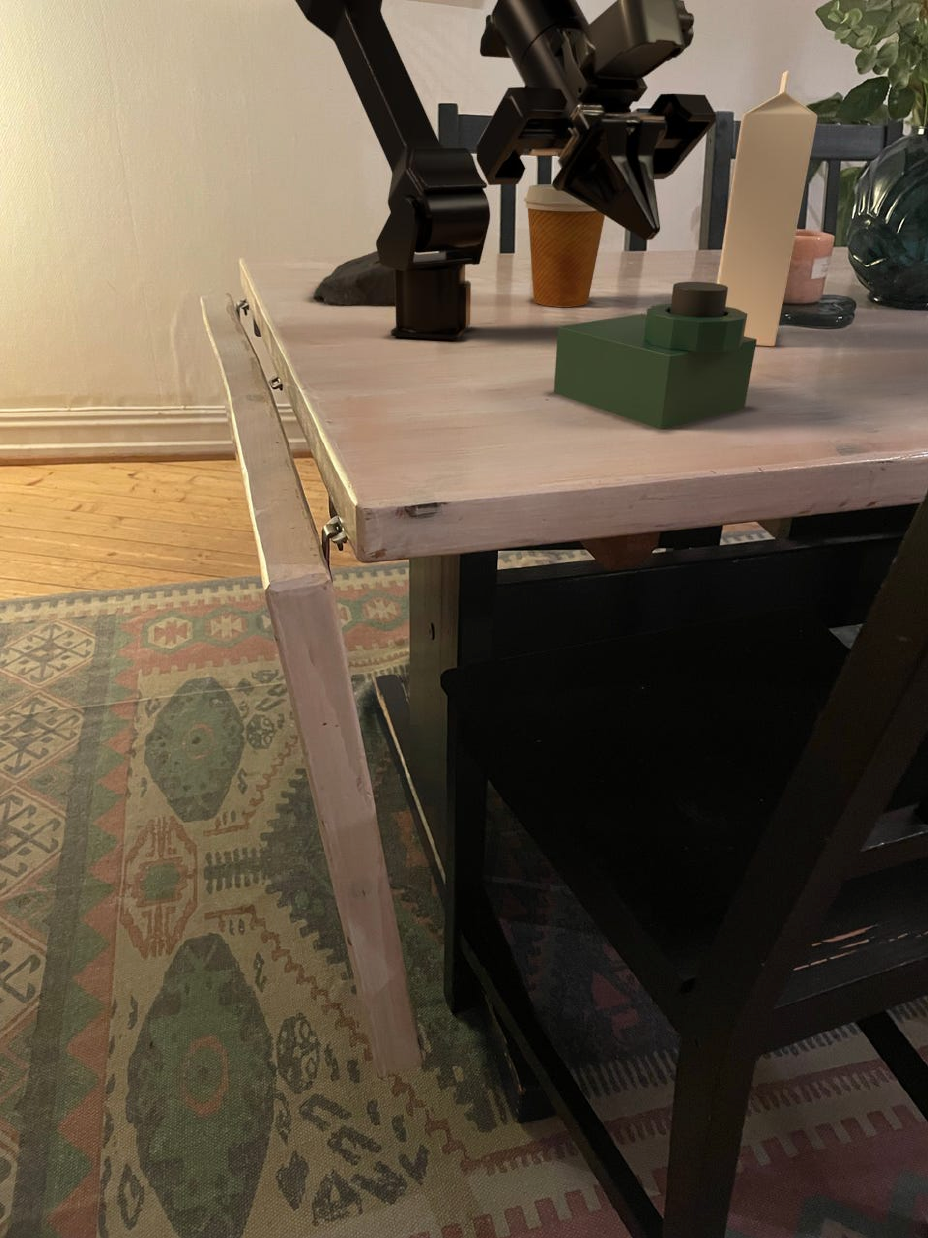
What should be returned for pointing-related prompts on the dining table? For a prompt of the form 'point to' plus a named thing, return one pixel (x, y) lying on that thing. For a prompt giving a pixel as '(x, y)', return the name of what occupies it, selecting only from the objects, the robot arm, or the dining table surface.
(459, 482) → the dining table surface
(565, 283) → the disposable coffee cup
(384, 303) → the dark slate chunk
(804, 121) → the milk
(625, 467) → the dining table surface
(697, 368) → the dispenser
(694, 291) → the button
